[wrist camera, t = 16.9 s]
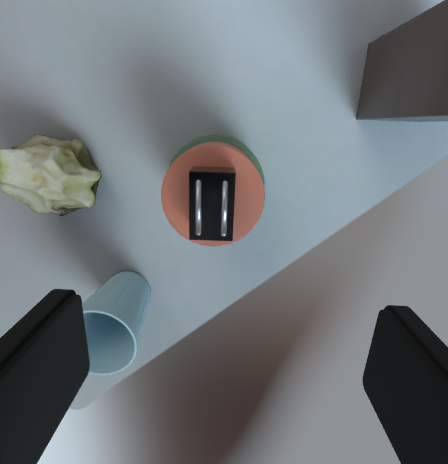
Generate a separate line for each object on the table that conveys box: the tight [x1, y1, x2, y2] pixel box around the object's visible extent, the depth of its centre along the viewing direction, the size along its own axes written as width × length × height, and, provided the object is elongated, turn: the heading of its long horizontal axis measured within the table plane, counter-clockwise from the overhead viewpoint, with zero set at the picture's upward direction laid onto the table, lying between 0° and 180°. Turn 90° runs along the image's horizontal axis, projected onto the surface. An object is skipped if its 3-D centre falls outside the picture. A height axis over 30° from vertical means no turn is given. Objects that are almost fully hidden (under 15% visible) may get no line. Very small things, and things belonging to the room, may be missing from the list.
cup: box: [82, 271, 150, 375], centre depth 35 cm, size 8×8×10 cm
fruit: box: [0, 134, 101, 216], centre depth 32 cm, size 9×9×8 cm
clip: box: [189, 166, 236, 241], centre depth 23 cm, size 3×5×3 cm, turn 178°
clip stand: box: [356, 0, 448, 122], centre depth 24 cm, size 7×7×15 cm
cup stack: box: [161, 135, 265, 246], centre depth 29 cm, size 9×9×11 cm
